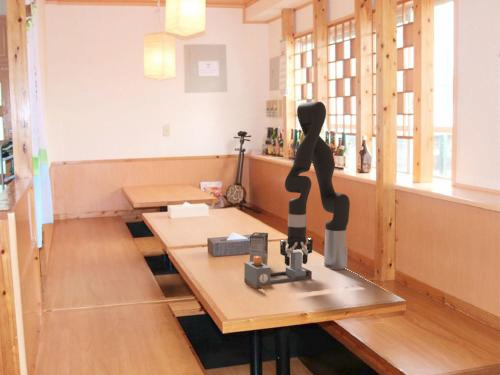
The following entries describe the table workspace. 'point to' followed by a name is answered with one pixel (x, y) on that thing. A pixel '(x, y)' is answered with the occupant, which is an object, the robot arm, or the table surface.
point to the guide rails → (286, 278)
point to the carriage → (295, 265)
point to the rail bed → (308, 273)
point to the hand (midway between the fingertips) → (296, 264)
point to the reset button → (257, 260)
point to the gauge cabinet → (257, 273)
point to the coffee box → (259, 246)
